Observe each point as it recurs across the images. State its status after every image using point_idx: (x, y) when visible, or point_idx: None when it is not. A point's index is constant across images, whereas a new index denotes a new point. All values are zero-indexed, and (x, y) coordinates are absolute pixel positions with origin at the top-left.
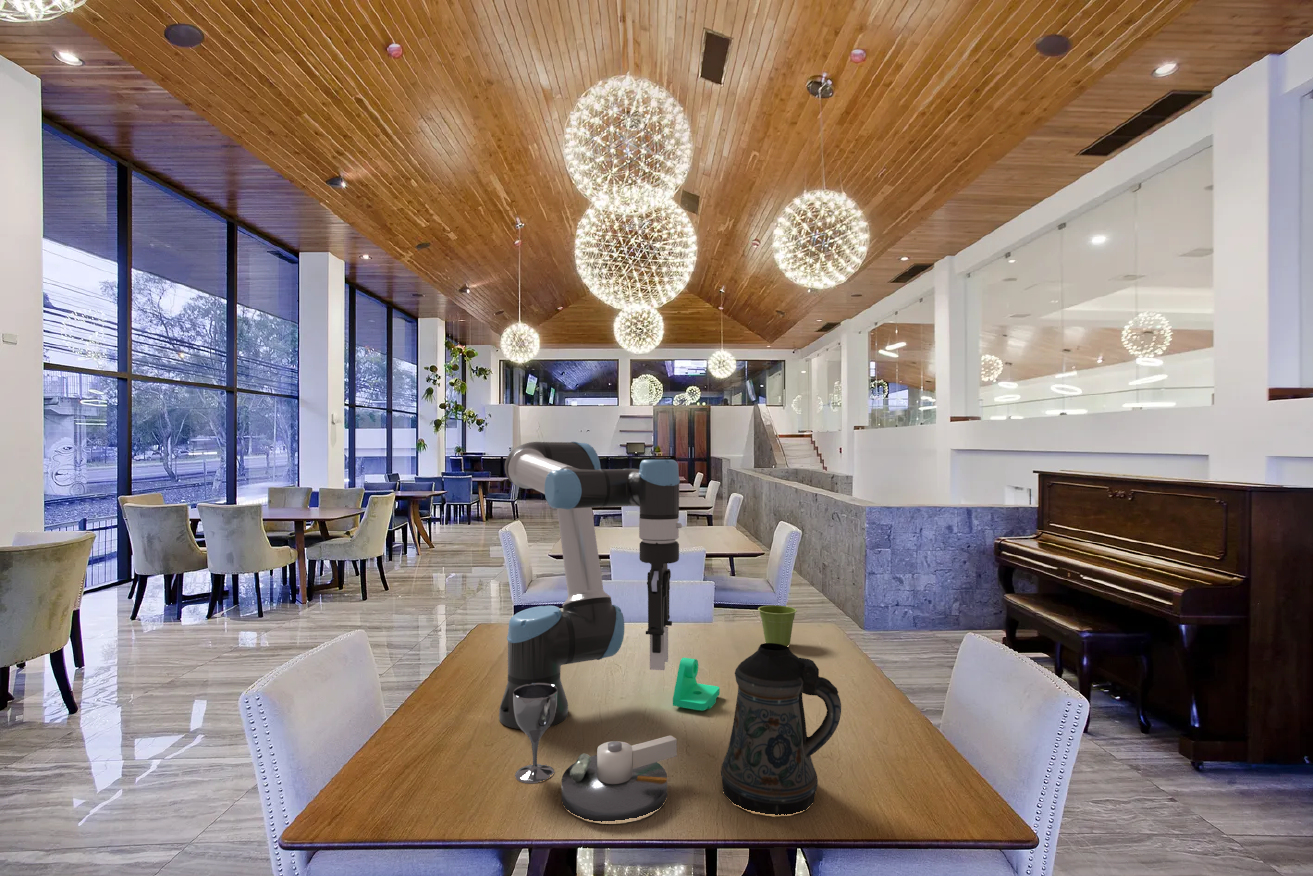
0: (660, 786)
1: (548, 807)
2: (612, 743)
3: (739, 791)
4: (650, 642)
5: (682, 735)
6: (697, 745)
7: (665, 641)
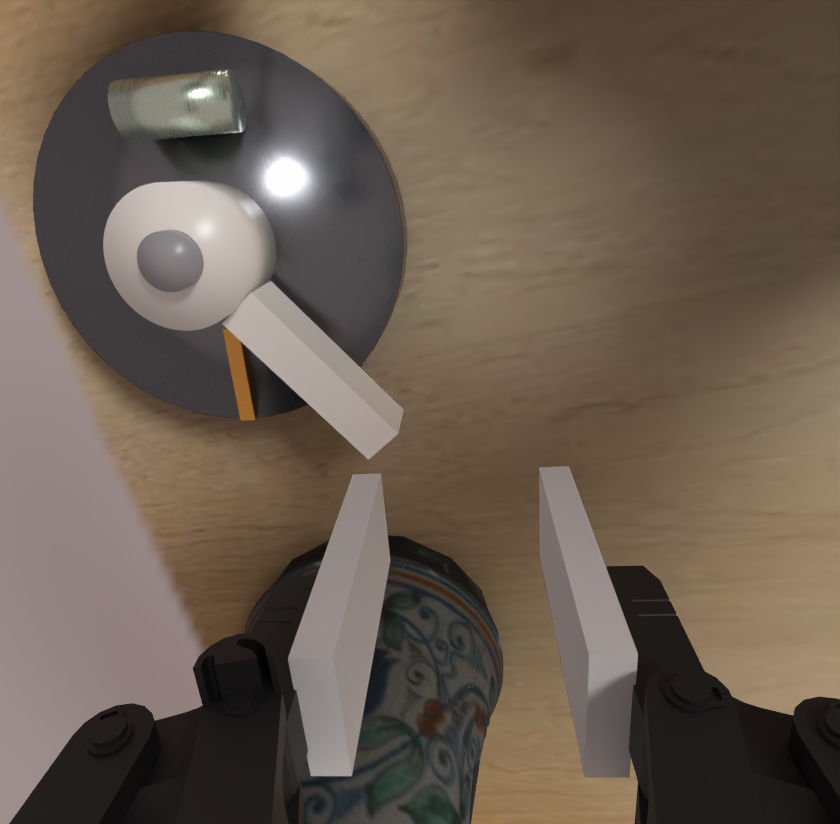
0: (210, 406)
1: (90, 32)
2: (168, 250)
3: (256, 605)
4: (308, 603)
5: (712, 375)
6: (631, 436)
7: (563, 646)
